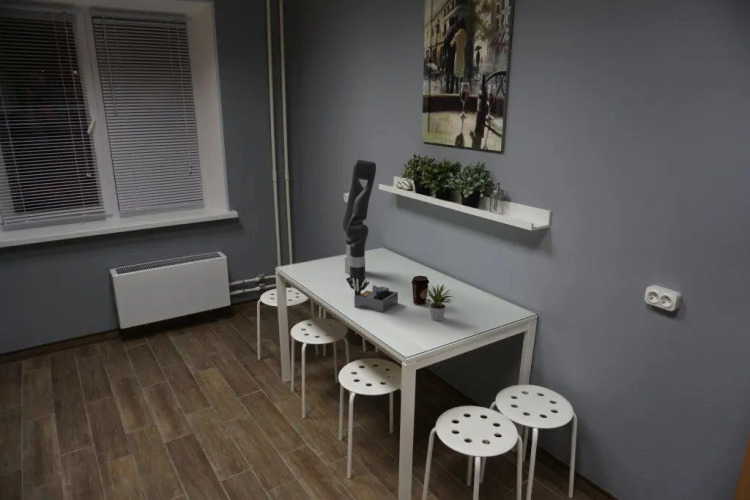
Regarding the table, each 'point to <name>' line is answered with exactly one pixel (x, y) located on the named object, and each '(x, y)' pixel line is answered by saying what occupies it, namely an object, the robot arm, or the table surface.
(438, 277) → the table surface
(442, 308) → the house plant
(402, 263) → the table surface
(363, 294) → the block
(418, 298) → the coffee cup
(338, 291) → the table surface
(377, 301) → the coupler dock
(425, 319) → the table surface
